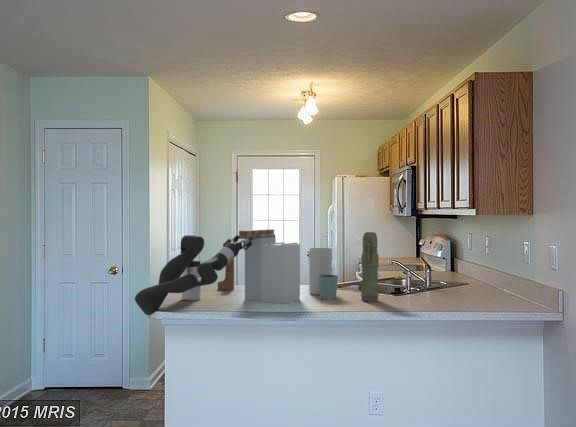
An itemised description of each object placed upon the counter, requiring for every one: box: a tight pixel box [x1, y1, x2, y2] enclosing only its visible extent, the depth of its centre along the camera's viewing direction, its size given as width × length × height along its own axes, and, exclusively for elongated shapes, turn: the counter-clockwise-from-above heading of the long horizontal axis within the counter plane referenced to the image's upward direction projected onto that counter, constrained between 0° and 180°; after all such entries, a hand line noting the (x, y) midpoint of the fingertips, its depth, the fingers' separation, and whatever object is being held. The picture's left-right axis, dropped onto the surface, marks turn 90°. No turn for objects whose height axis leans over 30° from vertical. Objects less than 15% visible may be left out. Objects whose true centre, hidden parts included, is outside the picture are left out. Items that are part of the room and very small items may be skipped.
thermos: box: [360, 231, 380, 302], centre depth 291 cm, size 9×12×35 cm
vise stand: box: [244, 233, 301, 304], centre depth 294 cm, size 14×25×34 cm, turn 58°
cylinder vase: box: [308, 247, 333, 296], centre depth 315 cm, size 12×12×25 cm
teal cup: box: [319, 274, 339, 300], centre depth 299 cm, size 10×10×12 cm
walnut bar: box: [238, 228, 275, 240], centre depth 295 cm, size 26×4×4 cm, turn 148°
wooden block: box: [217, 258, 235, 291], centre depth 330 cm, size 9×4×18 cm, turn 88°
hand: (245, 236), depth 285 cm, fingers open, 8 cm apart
